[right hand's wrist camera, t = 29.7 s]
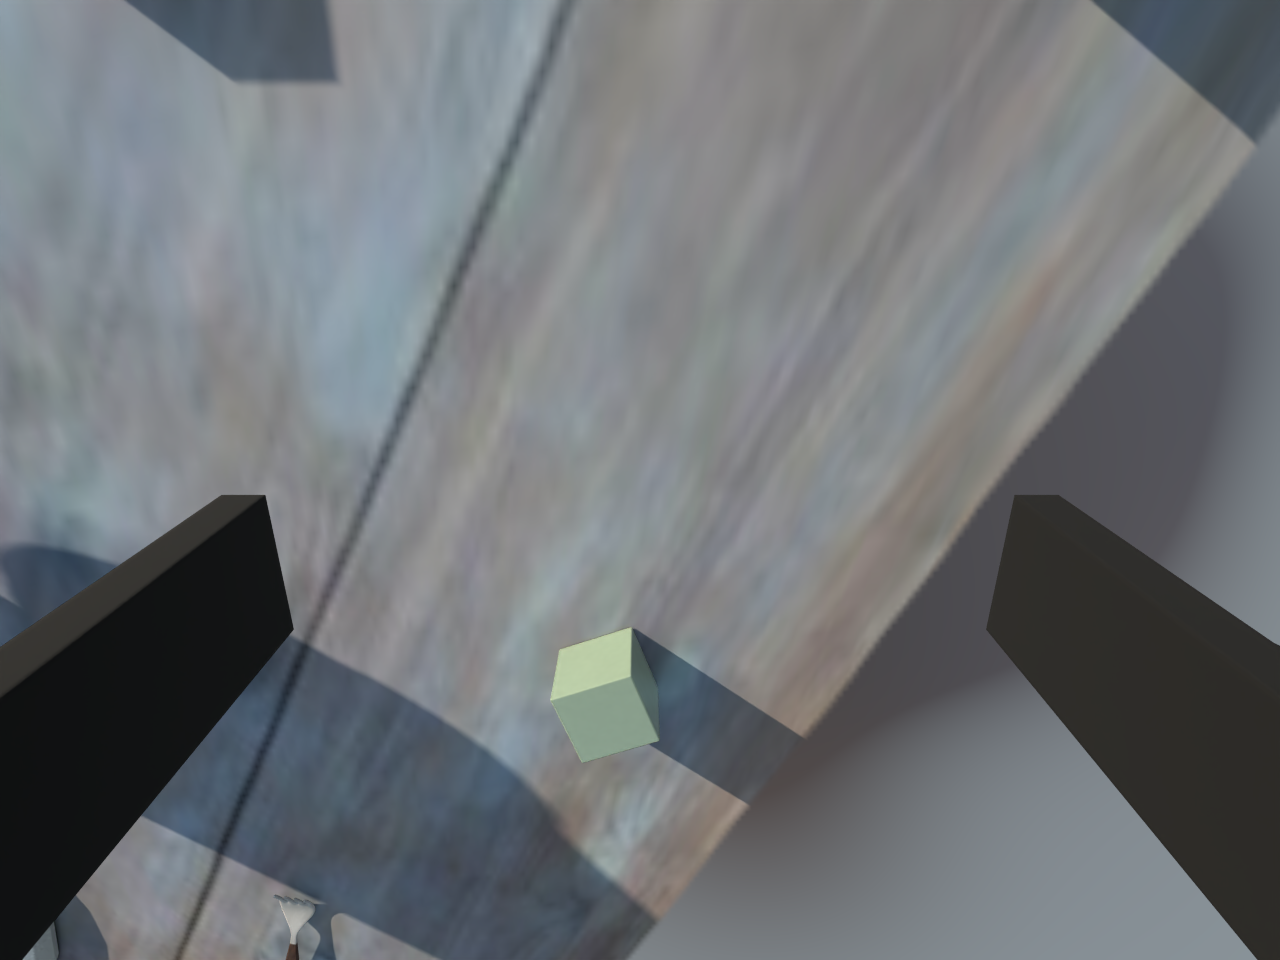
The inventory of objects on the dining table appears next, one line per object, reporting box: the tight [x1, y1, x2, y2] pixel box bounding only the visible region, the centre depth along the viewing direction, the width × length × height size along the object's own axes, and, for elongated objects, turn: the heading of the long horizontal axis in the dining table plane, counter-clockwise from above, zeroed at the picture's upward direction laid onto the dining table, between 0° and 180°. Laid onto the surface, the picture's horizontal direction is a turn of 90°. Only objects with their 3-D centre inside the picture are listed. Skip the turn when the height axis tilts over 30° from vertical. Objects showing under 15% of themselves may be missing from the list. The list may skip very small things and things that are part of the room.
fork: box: [273, 895, 315, 960], centre depth 54 cm, size 3×16×2 cm, turn 167°
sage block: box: [551, 627, 660, 763], centre depth 43 cm, size 5×5×5 cm
